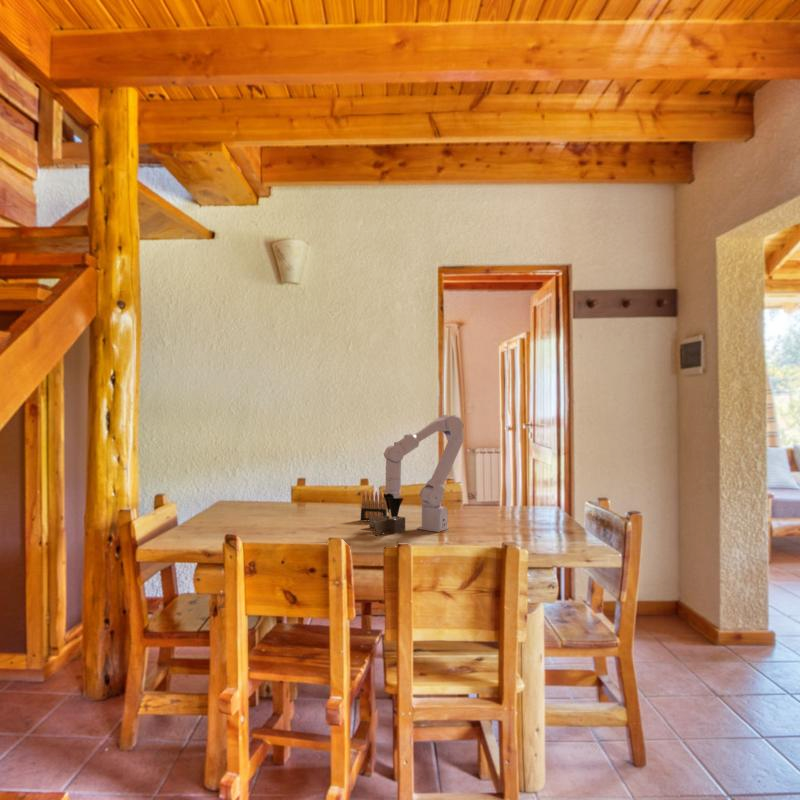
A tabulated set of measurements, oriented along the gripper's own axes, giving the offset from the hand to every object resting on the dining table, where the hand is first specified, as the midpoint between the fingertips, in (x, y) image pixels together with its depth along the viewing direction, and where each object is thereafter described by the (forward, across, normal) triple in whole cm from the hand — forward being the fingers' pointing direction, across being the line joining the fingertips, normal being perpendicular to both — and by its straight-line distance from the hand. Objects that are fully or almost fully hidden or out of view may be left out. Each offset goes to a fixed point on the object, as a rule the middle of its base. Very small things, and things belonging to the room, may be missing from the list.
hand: (392, 514), depth 225 cm
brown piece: (+6, 0, -5) cm, 8 cm away
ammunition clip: (+6, -19, -4) cm, 21 cm away
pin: (+6, 0, 0) cm, 6 cm away
